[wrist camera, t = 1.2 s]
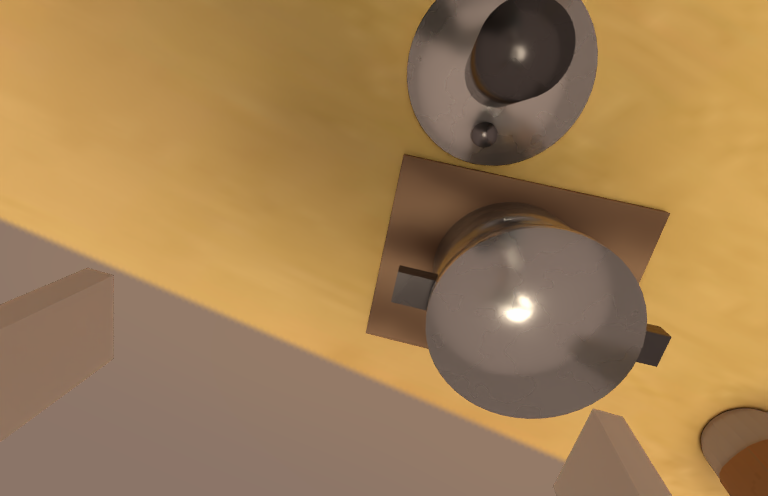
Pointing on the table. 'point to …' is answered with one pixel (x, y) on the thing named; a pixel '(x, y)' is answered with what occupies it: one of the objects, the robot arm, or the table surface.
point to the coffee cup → (739, 450)
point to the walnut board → (475, 190)
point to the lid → (501, 75)
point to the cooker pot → (529, 313)
